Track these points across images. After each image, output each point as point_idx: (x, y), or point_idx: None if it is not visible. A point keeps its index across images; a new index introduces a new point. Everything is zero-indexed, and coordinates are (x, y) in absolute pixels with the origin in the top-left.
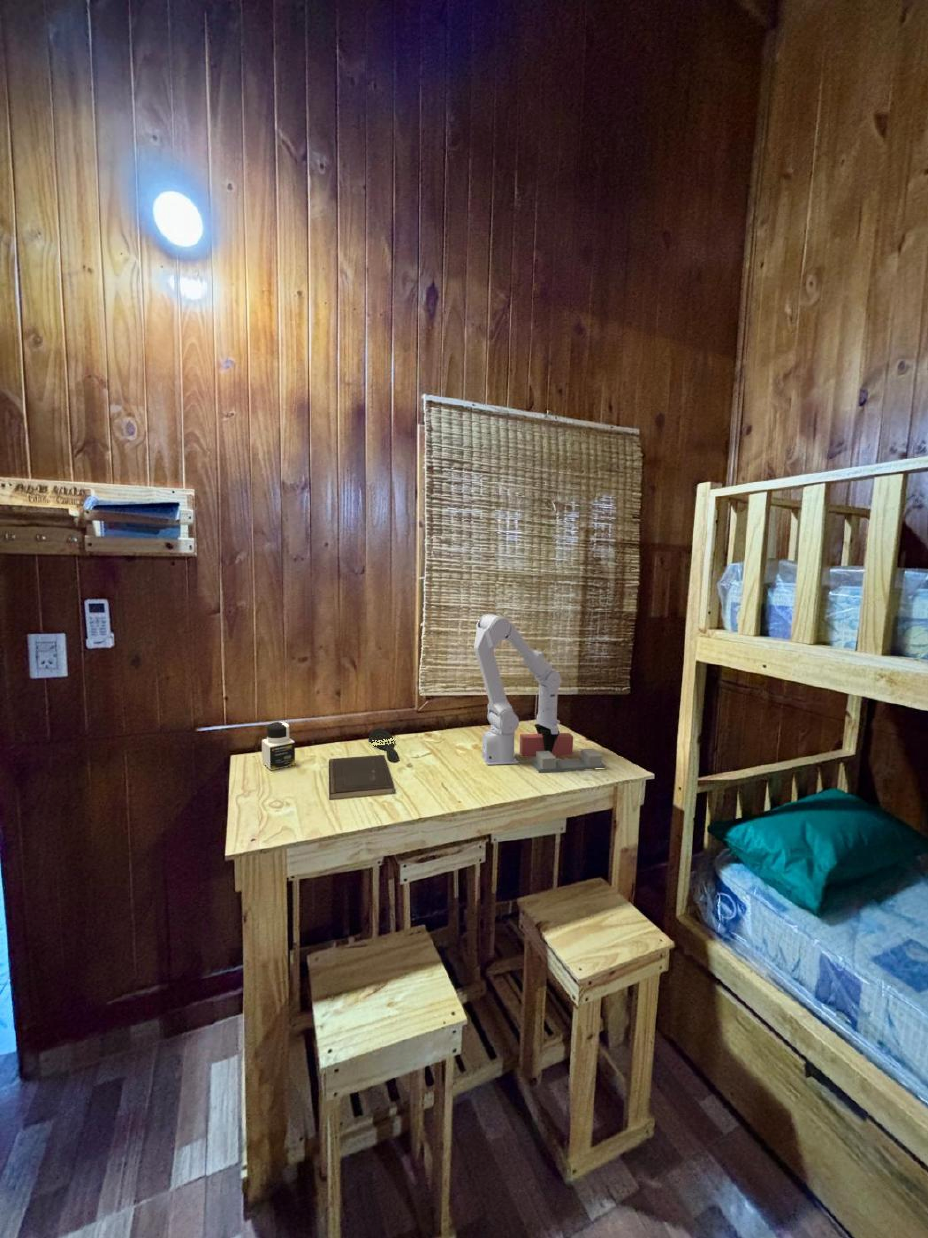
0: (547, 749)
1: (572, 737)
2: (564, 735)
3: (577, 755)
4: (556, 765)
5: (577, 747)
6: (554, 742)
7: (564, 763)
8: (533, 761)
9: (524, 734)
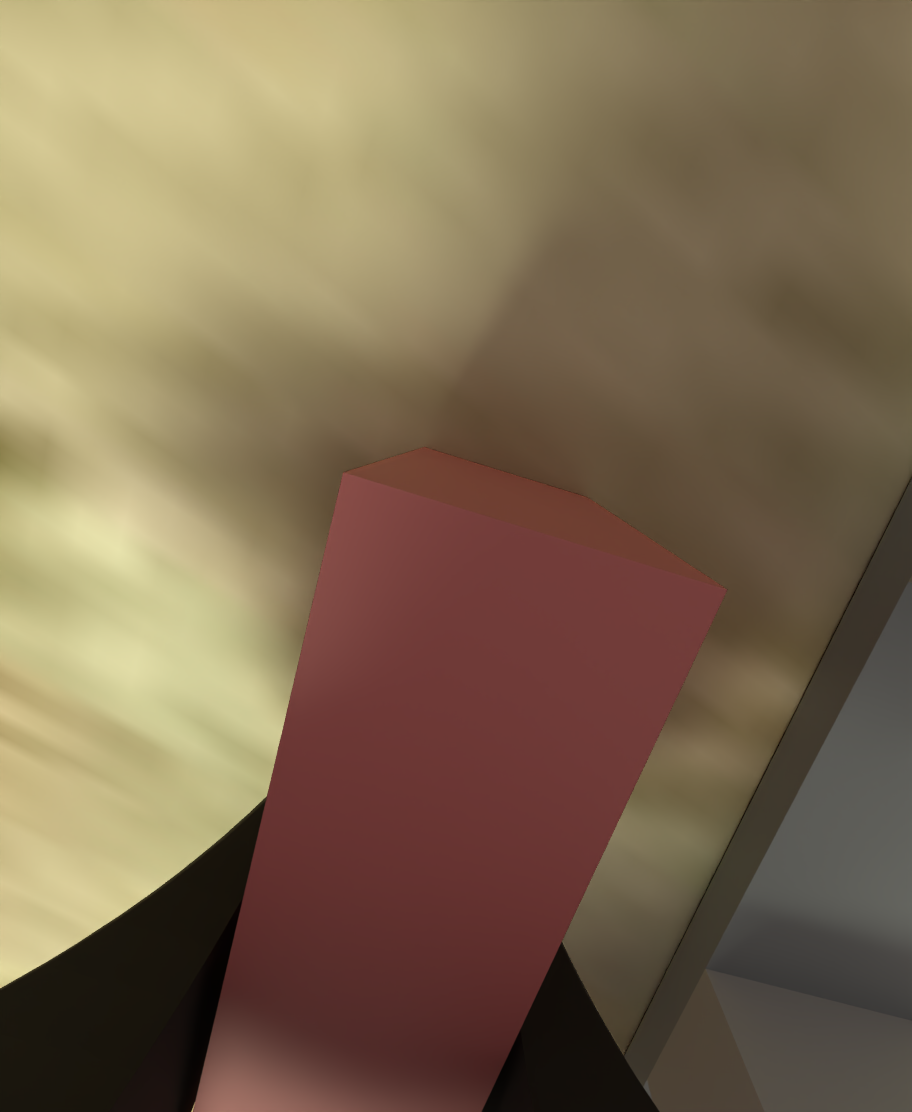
0: None
1: (701, 600)
2: (504, 769)
3: (626, 426)
4: (883, 980)
5: (314, 170)
6: (579, 981)
7: (896, 874)
8: None
9: None
